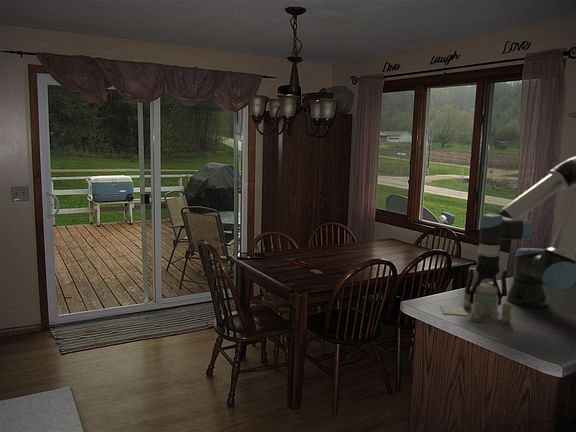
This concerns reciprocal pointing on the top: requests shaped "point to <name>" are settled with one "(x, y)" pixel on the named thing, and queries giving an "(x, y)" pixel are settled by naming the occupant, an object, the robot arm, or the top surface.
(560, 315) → the top surface
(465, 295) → the spacer posts
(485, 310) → the coffee cup
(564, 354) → the top surface
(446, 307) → the felt mat
